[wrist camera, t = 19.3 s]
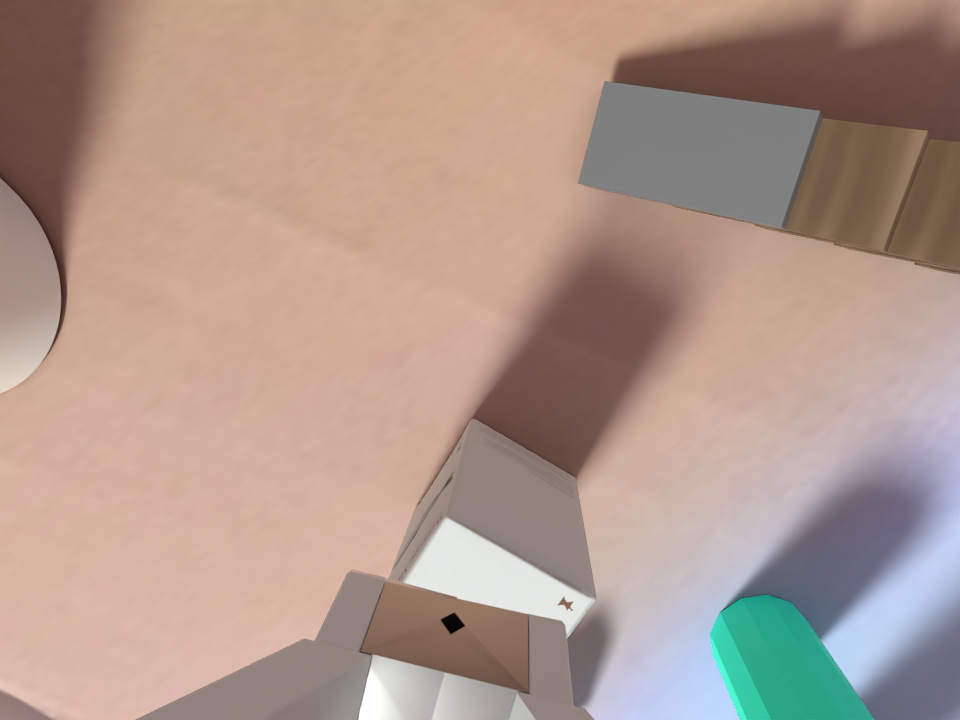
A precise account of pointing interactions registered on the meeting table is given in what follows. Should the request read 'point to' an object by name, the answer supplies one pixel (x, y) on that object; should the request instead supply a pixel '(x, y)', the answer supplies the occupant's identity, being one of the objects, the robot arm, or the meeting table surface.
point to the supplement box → (501, 532)
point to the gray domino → (700, 151)
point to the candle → (779, 665)
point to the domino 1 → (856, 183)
